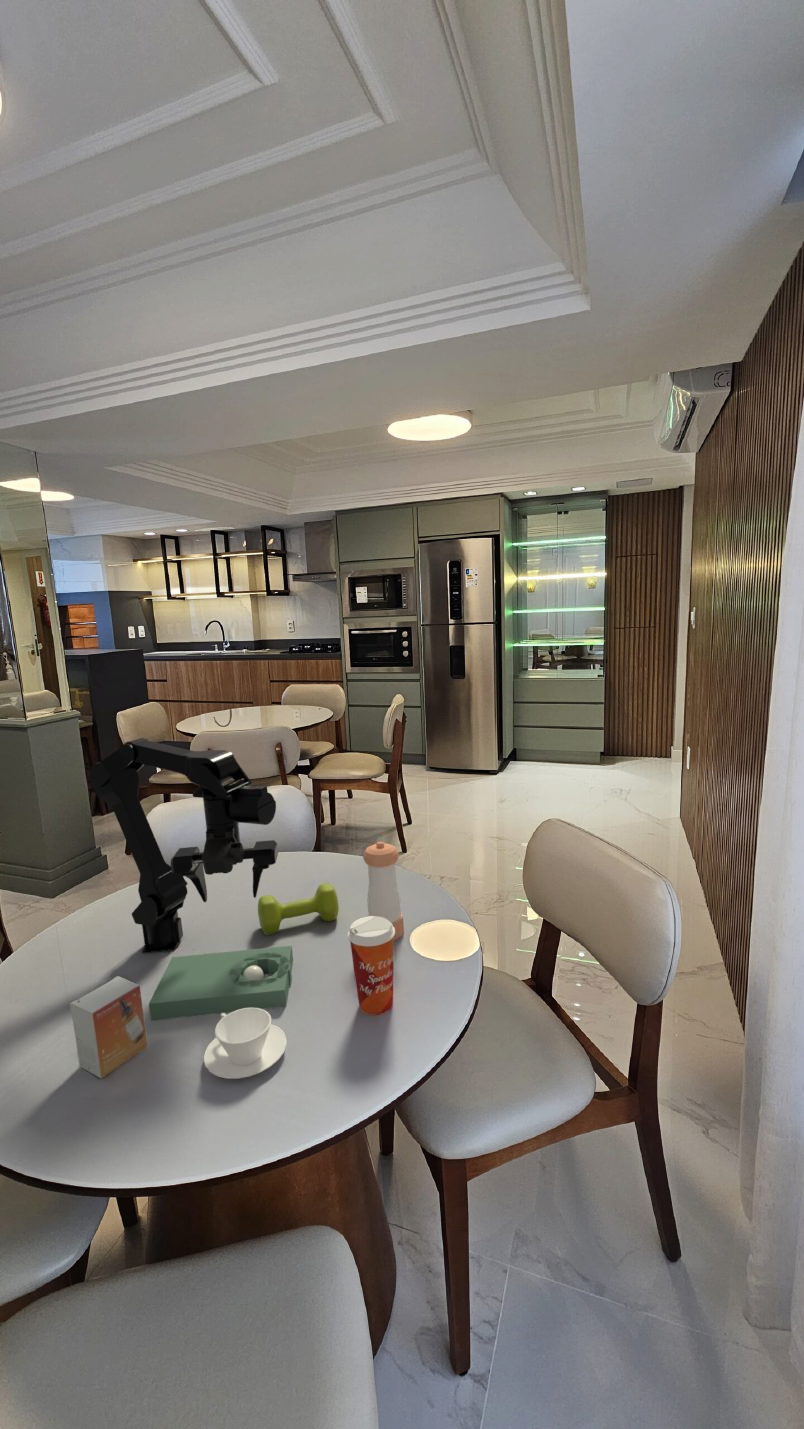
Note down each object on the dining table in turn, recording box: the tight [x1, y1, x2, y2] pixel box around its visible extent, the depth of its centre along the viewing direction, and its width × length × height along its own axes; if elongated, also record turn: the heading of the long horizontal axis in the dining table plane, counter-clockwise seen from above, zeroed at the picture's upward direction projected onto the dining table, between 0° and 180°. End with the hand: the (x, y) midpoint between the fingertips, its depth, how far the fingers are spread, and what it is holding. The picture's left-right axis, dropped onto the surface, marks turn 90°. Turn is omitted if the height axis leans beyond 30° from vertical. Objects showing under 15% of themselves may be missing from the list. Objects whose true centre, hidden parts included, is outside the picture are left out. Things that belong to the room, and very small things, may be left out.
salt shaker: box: [362, 841, 405, 941], centre depth 125 cm, size 7×7×19 cm
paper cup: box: [347, 916, 395, 1016], centre depth 103 cm, size 8×8×14 cm
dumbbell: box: [257, 882, 339, 936], centre depth 132 cm, size 16×8×7 cm, turn 110°
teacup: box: [203, 1008, 288, 1080], centre depth 93 cm, size 12×12×5 cm
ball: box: [243, 965, 265, 980], centre depth 111 cm, size 4×4×4 cm
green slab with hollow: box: [148, 945, 294, 1021], centre depth 111 cm, size 22×14×3 cm, turn 95°
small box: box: [69, 975, 148, 1079], centre depth 94 cm, size 8×6×10 cm
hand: (230, 899), depth 119 cm, fingers open, 9 cm apart
